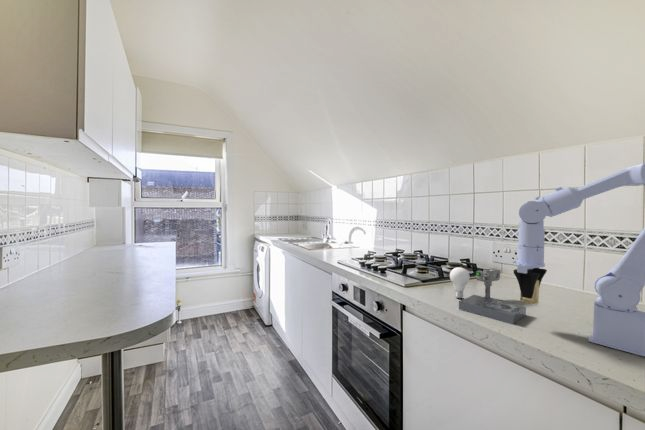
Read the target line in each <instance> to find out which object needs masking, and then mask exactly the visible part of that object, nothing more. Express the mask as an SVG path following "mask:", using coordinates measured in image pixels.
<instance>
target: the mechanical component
mask: <svg viewBox="0 0 645 430" xmlns="http://www.w3.org/2000/svg"><path fill="white" fill-rule="evenodd" d="M500 278H501V269H498V268H484V269H483V271H482V270H476V271H475V279H476V280H477V281H479V282H483V285H484V297H486V298H490V299H491V286H493V284H492V283H493V282H497V281H499V280H500Z"/></svg>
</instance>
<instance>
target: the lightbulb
mask: <svg viewBox="0 0 645 430" xmlns="http://www.w3.org/2000/svg"><path fill="white" fill-rule="evenodd" d="M470 278H471V276H470V273H469V271H468V270H467V269H466V268H463V267H461V266H459V267H457V266H456V267H454V268H453V269H451V270H450V272H449V279H450V281H451V283H452V284H453V288H454V297H456V298H457V299H461V300H462V298H463V299H464V290H465V289H466V288H465V287H466V285H468V283H469V281H470Z"/></svg>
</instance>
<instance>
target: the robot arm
mask: <svg viewBox="0 0 645 430" xmlns="http://www.w3.org/2000/svg"><path fill="white" fill-rule="evenodd" d="M642 185H643V186H644V187H645V162H644V163H640V164H637V165H633V166H629V167H626V168H624V169H621V170H619V171H618V170H617V172H613V173H611V174H609V175H607V176H604V177H602V178H599V179H597V180H595V181H591V182H590V183H587V184H585V185H583V186H580V187H577V188H575V187H570V186H566V187H562V186H558V187H557V188H555V189H554V191H553V192H551V193H548V194H545V195H543V196H541V197H539V196H536V197H534V200H529V201H527V202H525V203H524V204H522V205H521V206H520V207H519V209H518V216H519V218H520V220H519V222H518V224H519V225H518V237H517V238H518V239H517V240H518V241H517V242H518V243H517V259H513V260H512V263H513V264H516V265H517V266H516V268H517V269H516V268H515V269H513V275H514V276H515V277H516V280H517V283H518V285H519V290H520V295H522V297H525V298H530V299H531V298H532V297H533V293H534V288H535V284H536V281H537V279H538V280H539V288H540V287H541V283H542V281H543V278H544V277H545V275H546V273H547V269H546V268H545V267H546V264H545V234H546V232H545V231H546V230H545V229H544V224H545V223H544V222H545V221H544V220H545V219H546V217H550V218H553V217H555V216H559V215H561V214H564V213H566V212H570V211H572V210H575V209H577V208H580V207H581V205H582V203H583V202H584V200H586V199H589V198H591V197H594V196H598V195H600V194H603V193H606V192H609V191H613V190H614V189H617V188H620V187H623V186H632V187H635V186H636V187H638V186H642ZM593 287H594V290H595V292H596V293H597V295H598V296H597V298H595V299H594V300H593V301H594V302H593V321H592V322H593V326H592V333H591V335H590V336H589V338H588V342H590V343H594V344H596V345H601V346H605V347H608V348H612V349H615V350H619V351H622V352H626V353H629V354H630V353H631V354H633V355H637V356H641V357H643V358H644V357H645V312H644V311H641V310H639V309H638V307H637V306H638V305H639V303H640V301H641V292H642V290H643V289H644V288H645V227H644V228H643V229H642V230H641V232H640V233H639V234H638V236H637V237H636V238H635V240H634V241H633V242H632V244H631V245H630V247H629V248H628V249H627V251H626V252H625V254H624V255H623V256H622V257H621V259H620V261H619V262H618V263H617V264H616V265H614V266H612V267H611V268H610V269H609V271H608V272H607V273H606V274H604V275H602V276H599V277H597V279H596V280H595V281H594V285H593Z"/></svg>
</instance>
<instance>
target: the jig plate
mask: <svg viewBox="0 0 645 430" xmlns="http://www.w3.org/2000/svg"><path fill="white" fill-rule="evenodd" d="M458 309H459V310H461V311H464V312H468V313H472V314H475V315H478V316H482V317H485V318H486V317H487V318H489V319H492V320H497V321H500V322H504V323H508V324H511V325H515V324H516V323H517V322H518V321H520V320H521V319H523V318H524V317H525V316H526V315H527V306H524V305H520V304H516V303H511V302H506V301H504V300H503V301H502V300H498V299H494V298H491V297H490V298H487V297H485V296H480V295H477V294H472V295H470V296H468V297H465V298H463V299H461V300H459V301H458Z"/></svg>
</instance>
